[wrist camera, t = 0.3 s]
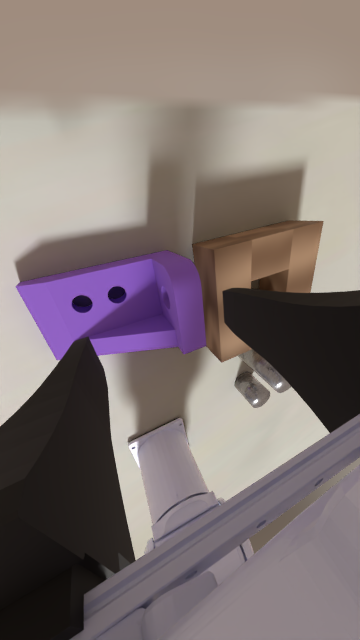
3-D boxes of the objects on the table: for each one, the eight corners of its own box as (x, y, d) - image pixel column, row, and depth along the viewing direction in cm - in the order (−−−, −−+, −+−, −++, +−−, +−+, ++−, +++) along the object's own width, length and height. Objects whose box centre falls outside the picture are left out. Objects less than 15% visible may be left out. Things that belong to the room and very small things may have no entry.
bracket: (165, 249, 19) (199, 263, 14) (175, 313, 23) (206, 345, 17) (21, 281, 16) (-15, 316, 10) (58, 350, 19) (47, 406, 14)
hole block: (278, 313, 29) (304, 326, 25) (203, 343, 26) (221, 362, 22) (288, 220, 23) (323, 221, 19) (192, 244, 20) (214, 249, 16)
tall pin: (252, 350, 30) (296, 385, 24) (234, 358, 29) (274, 396, 23) (252, 332, 28) (300, 364, 22) (233, 340, 27) (276, 376, 21)
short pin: (251, 383, 33) (269, 401, 30) (234, 391, 33) (251, 411, 29) (251, 369, 32) (270, 386, 29) (234, 377, 31) (252, 396, 28)
